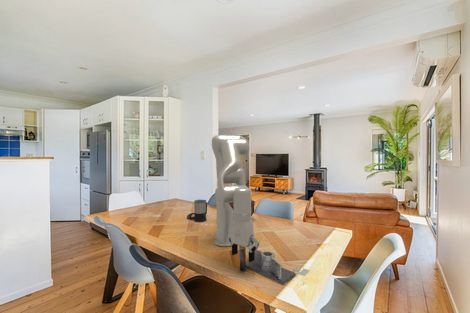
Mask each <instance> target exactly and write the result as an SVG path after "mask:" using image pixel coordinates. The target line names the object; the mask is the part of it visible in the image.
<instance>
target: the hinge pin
mask: <svg viewBox="0 0 470 313" xmlns="http://www.w3.org/2000/svg"><path fill="white" fill-rule="evenodd" d="M246 248H247V247H243V246H240V245H239V246H238V251H239V252H238V254H239V271H240V272H243V273H244V272H246V269H247V268H246V261H247V260H246V256H247V255H246V252H247V250H246Z"/></svg>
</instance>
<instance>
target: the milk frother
mask: <svg viewBox="0 0 470 313" xmlns="http://www.w3.org/2000/svg"><path fill="white" fill-rule="evenodd" d="M193 202H194V207H193V208H194V212H191V213H189V214H187V215H186V218H187V220H188V219H189V220H193V221H194V222H196V223H203V222H206V221H207V214H208V202H207V200H206V199H196V200H193ZM192 216H193V217H192Z"/></svg>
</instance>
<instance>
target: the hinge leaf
mask: <svg viewBox="0 0 470 313" xmlns="http://www.w3.org/2000/svg"><path fill="white" fill-rule="evenodd" d="M261 264H262V265H264V266H271V272H272V273H273V274H274V275H275V276H276V277H277V278H278V279H280V280H281V267H282V263H281V262H279V261H278V260H276V259H274V258H273V257H271V261H264V260H262V259H261Z"/></svg>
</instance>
